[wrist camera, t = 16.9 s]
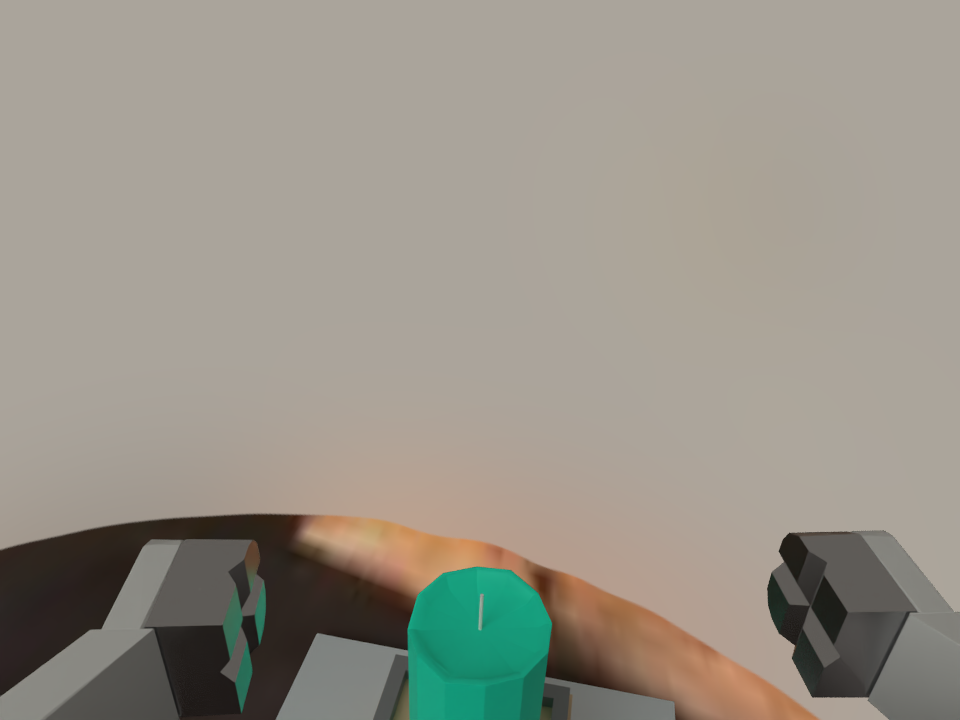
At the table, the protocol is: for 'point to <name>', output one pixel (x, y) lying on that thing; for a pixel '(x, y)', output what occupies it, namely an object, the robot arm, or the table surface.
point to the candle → (477, 648)
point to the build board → (368, 670)
